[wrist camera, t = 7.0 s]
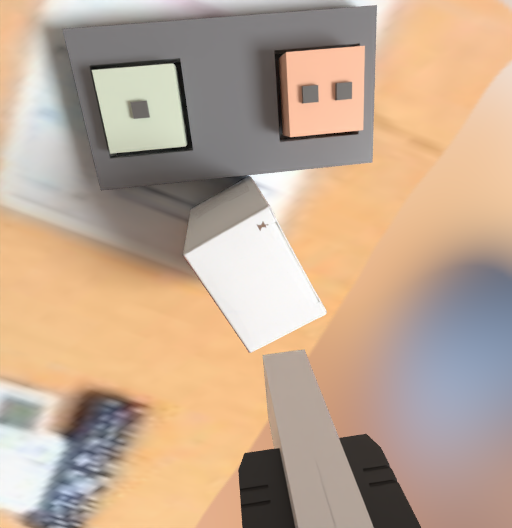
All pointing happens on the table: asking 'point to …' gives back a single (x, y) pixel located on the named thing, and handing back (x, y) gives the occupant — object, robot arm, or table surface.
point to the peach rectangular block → (322, 91)
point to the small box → (249, 266)
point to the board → (224, 92)
